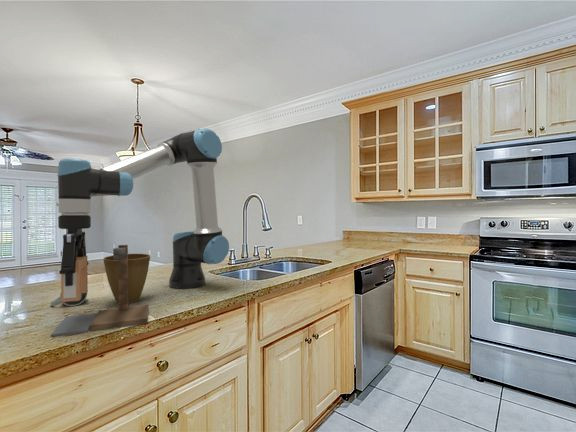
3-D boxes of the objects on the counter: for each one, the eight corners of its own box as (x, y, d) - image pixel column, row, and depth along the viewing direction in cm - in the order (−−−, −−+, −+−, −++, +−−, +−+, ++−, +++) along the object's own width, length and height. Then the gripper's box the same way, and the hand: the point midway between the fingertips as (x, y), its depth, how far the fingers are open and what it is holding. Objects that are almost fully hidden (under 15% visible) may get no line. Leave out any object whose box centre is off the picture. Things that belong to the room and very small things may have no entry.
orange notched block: (71, 292, 92) (71, 256, 91) (87, 290, 93) (87, 256, 93) (61, 302, 81) (61, 262, 81) (79, 300, 83) (79, 261, 83)
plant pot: (97, 301, 110) (96, 256, 110) (139, 293, 122) (139, 252, 122) (114, 309, 101) (113, 260, 101) (158, 299, 112) (157, 255, 112)
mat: (97, 314, 96) (97, 312, 96) (87, 332, 82) (87, 329, 82) (66, 318, 93) (66, 316, 93) (50, 336, 79) (50, 334, 79)
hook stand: (148, 309, 101) (147, 242, 101) (147, 324, 88) (146, 247, 87) (98, 315, 96) (98, 244, 95) (89, 332, 82) (88, 250, 82)
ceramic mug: (88, 298, 114) (87, 277, 114) (87, 304, 107) (86, 282, 107) (52, 303, 108) (51, 282, 108) (49, 310, 102) (48, 286, 101)
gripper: (69, 214, 96) (69, 284, 97) (44, 214, 75) (45, 305, 75) (97, 214, 99) (97, 282, 100) (81, 214, 78) (81, 301, 78)
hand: (75, 292), depth 87 cm, fingers closed on orange notched block, 11 cm apart
